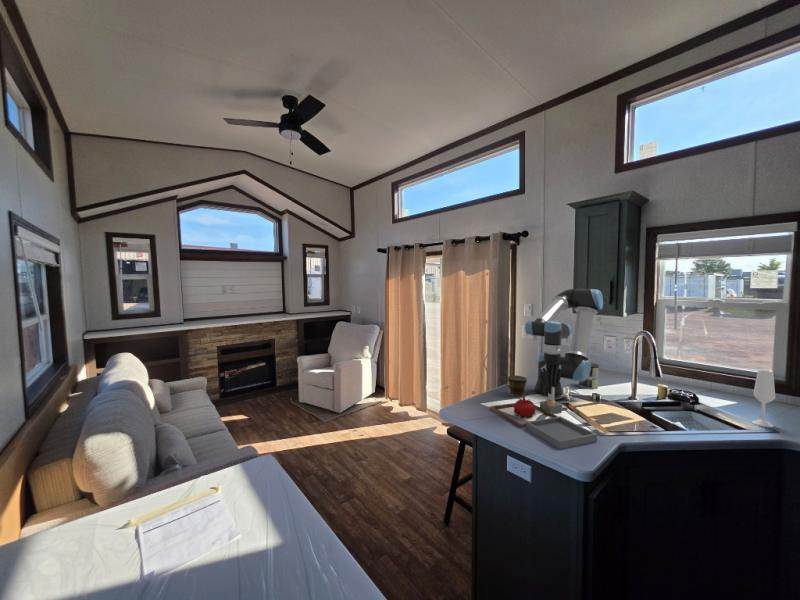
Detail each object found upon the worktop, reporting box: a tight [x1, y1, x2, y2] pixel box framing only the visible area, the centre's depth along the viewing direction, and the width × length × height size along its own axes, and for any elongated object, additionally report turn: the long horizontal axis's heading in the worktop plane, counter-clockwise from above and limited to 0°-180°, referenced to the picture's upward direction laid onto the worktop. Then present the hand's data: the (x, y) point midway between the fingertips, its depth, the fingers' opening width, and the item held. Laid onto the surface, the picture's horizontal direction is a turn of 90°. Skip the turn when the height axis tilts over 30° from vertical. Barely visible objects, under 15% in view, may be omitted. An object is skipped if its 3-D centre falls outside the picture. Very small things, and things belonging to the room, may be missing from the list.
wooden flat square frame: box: [489, 402, 559, 429], centre depth 159 cm, size 23×23×2 cm
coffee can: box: [578, 362, 600, 390], centre depth 203 cm, size 10×10×14 cm
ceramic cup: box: [504, 375, 528, 398], centre depth 186 cm, size 13×10×10 cm
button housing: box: [539, 400, 563, 415], centre depth 164 cm, size 7×7×4 cm
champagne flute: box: [751, 369, 776, 428], centre depth 149 cm, size 7×7×24 cm
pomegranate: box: [513, 395, 537, 419], centre depth 158 cm, size 10×10×9 cm
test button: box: [546, 398, 556, 405], centre depth 164 cm, size 4×4×4 cm
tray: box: [525, 416, 598, 450], centre depth 138 cm, size 19×19×3 cm
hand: (551, 399), depth 164 cm, fingers closed
